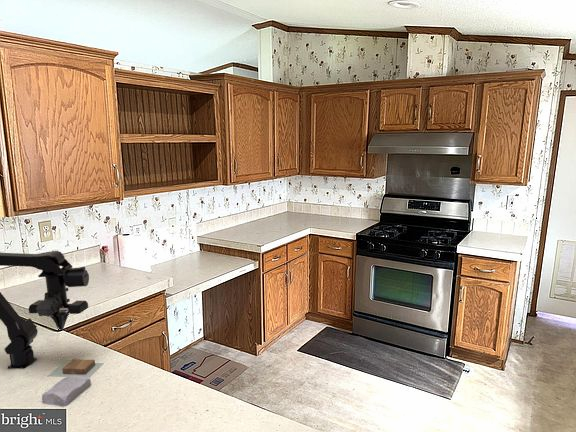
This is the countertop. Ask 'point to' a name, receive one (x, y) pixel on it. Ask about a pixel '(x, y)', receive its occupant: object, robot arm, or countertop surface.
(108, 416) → the countertop surface
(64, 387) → the stone block
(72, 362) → the walnut tile
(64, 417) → the countertop surface
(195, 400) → the countertop surface
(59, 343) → the countertop surface
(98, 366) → the rubber mat
